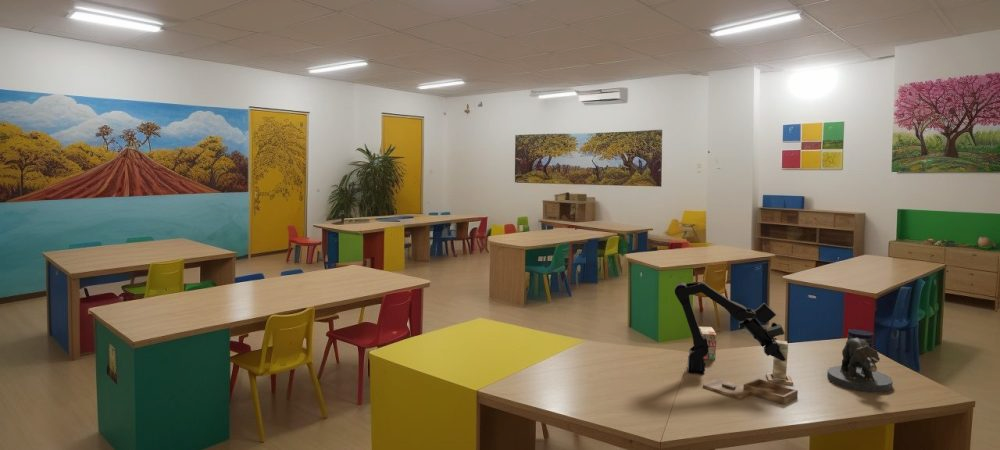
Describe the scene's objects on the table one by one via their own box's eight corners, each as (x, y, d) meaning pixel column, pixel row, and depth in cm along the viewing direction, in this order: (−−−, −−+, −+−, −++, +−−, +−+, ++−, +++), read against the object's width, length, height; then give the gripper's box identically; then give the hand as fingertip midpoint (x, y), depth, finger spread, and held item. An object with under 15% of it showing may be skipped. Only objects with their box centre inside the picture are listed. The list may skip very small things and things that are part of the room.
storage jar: (862, 360, 274) (864, 328, 272) (876, 367, 264) (878, 335, 262) (841, 360, 273) (843, 328, 272) (854, 367, 264) (856, 335, 262)
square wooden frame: (768, 382, 245) (768, 379, 245) (765, 375, 254) (766, 372, 253) (793, 385, 242) (793, 382, 242) (789, 377, 251) (789, 374, 251)
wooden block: (773, 378, 246) (776, 343, 245) (772, 374, 251) (774, 340, 249) (786, 379, 245) (788, 344, 243) (784, 376, 249) (786, 341, 248)
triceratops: (840, 394, 233) (843, 349, 231) (816, 365, 267) (818, 325, 265) (907, 400, 227) (911, 354, 225) (873, 370, 261) (876, 329, 259)
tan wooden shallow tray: (743, 391, 235) (743, 384, 234) (757, 385, 241) (757, 378, 241) (783, 404, 222) (783, 397, 222) (797, 397, 229) (797, 390, 229)
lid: (702, 387, 239) (703, 382, 239) (718, 381, 246) (718, 376, 246) (739, 399, 227) (740, 394, 227) (754, 392, 234) (755, 388, 233)
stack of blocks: (694, 345, 295) (695, 321, 294) (707, 346, 294) (708, 321, 293) (701, 359, 274) (702, 333, 273) (715, 360, 273) (716, 334, 272)
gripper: (775, 323, 237) (804, 353, 235) (769, 312, 255) (796, 340, 253) (753, 340, 241) (781, 370, 238) (748, 328, 258) (774, 356, 256)
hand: (784, 358), depth 246 cm, fingers closed on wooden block, 4 cm apart
